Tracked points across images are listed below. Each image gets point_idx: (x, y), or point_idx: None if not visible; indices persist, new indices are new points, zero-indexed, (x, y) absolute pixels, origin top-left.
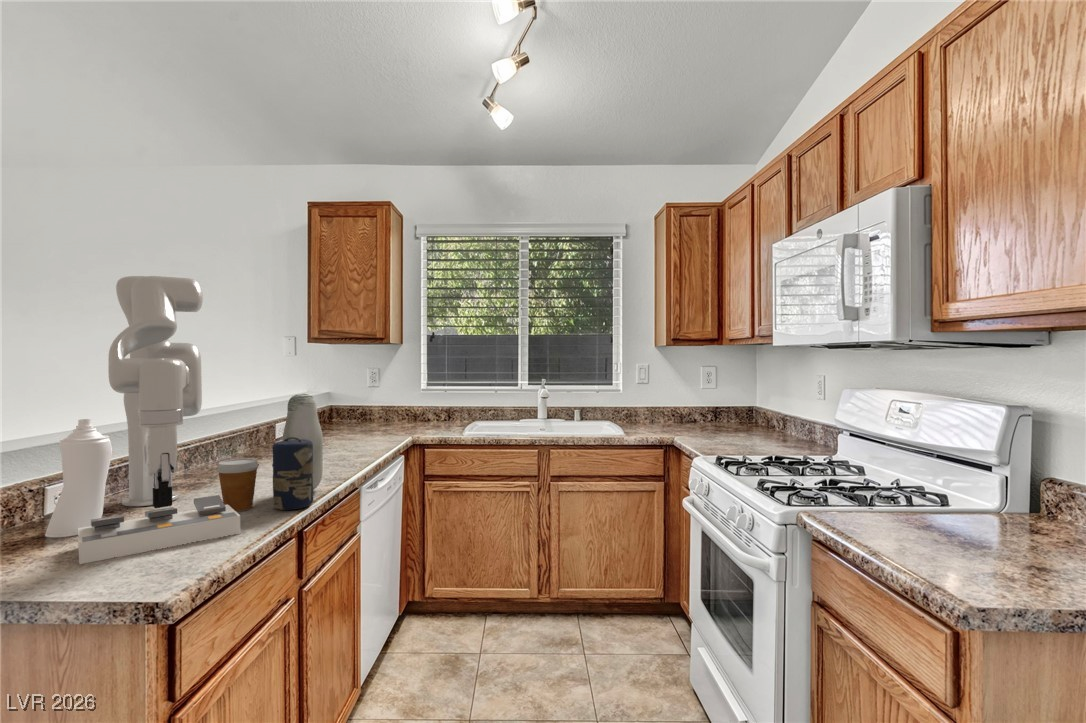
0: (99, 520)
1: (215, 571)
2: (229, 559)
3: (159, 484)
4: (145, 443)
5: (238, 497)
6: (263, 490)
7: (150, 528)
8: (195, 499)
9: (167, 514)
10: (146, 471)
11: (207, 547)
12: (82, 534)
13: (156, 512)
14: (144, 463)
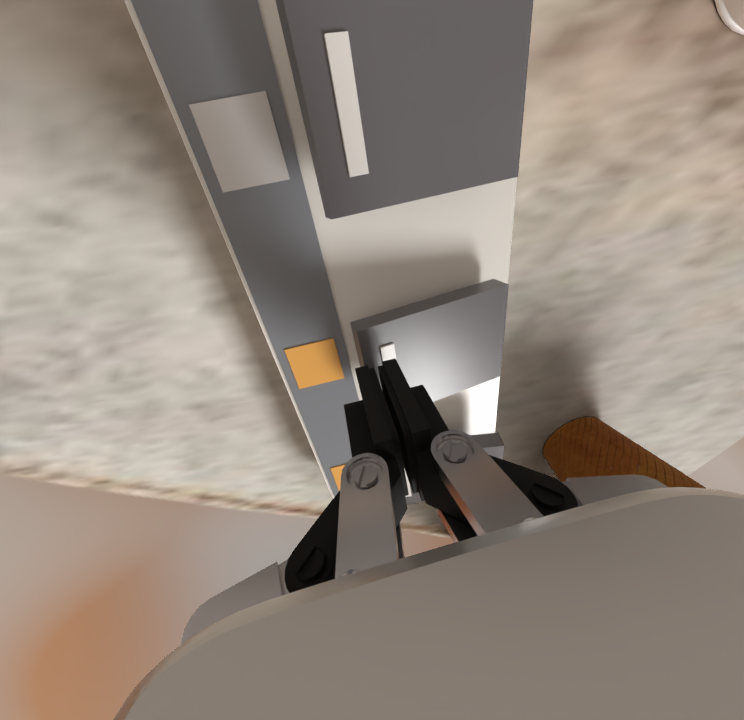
0: (307, 47)
1: (4, 473)
2: (112, 483)
3: (319, 519)
4: None
5: (567, 475)
6: (682, 461)
7: (290, 323)
8: (493, 449)
9: None
10: (359, 626)
11: (243, 429)
12: None
13: (362, 359)
14: (733, 652)
